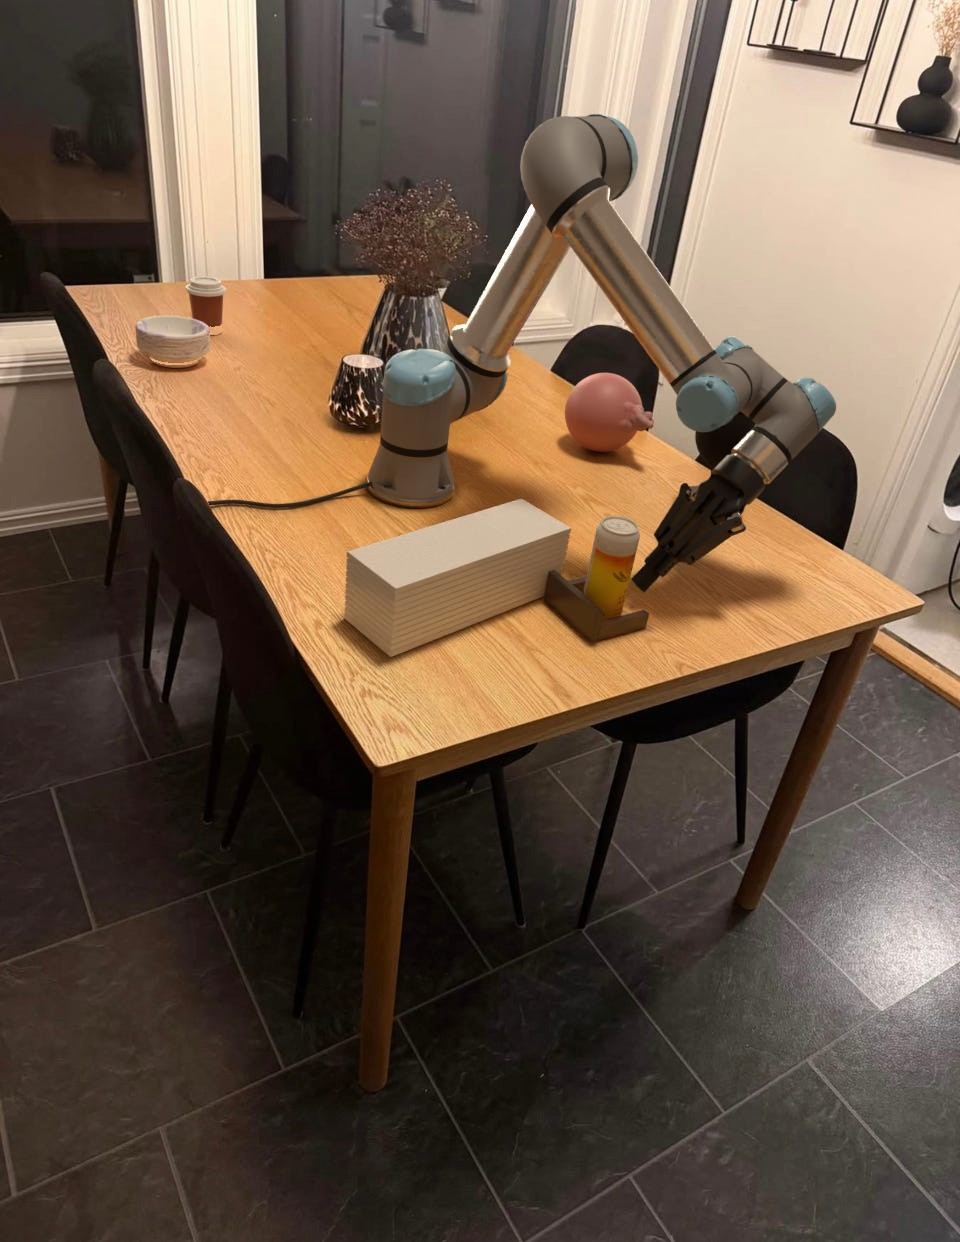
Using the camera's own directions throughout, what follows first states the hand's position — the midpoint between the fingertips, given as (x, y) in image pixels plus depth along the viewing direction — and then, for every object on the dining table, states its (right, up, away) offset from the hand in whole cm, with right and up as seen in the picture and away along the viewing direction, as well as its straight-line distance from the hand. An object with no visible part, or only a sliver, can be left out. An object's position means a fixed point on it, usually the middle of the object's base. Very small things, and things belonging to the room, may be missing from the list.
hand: (637, 585), depth 138 cm
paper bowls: (-90, +52, +64) cm, 122 cm away
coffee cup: (-89, +64, +83) cm, 137 cm away
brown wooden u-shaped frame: (-6, -4, -2) cm, 8 cm away
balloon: (+2, +29, +49) cm, 57 cm away
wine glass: (+18, +15, +33) cm, 40 cm away
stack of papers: (-27, -3, -4) cm, 27 cm away
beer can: (-6, -5, -2) cm, 8 cm away
